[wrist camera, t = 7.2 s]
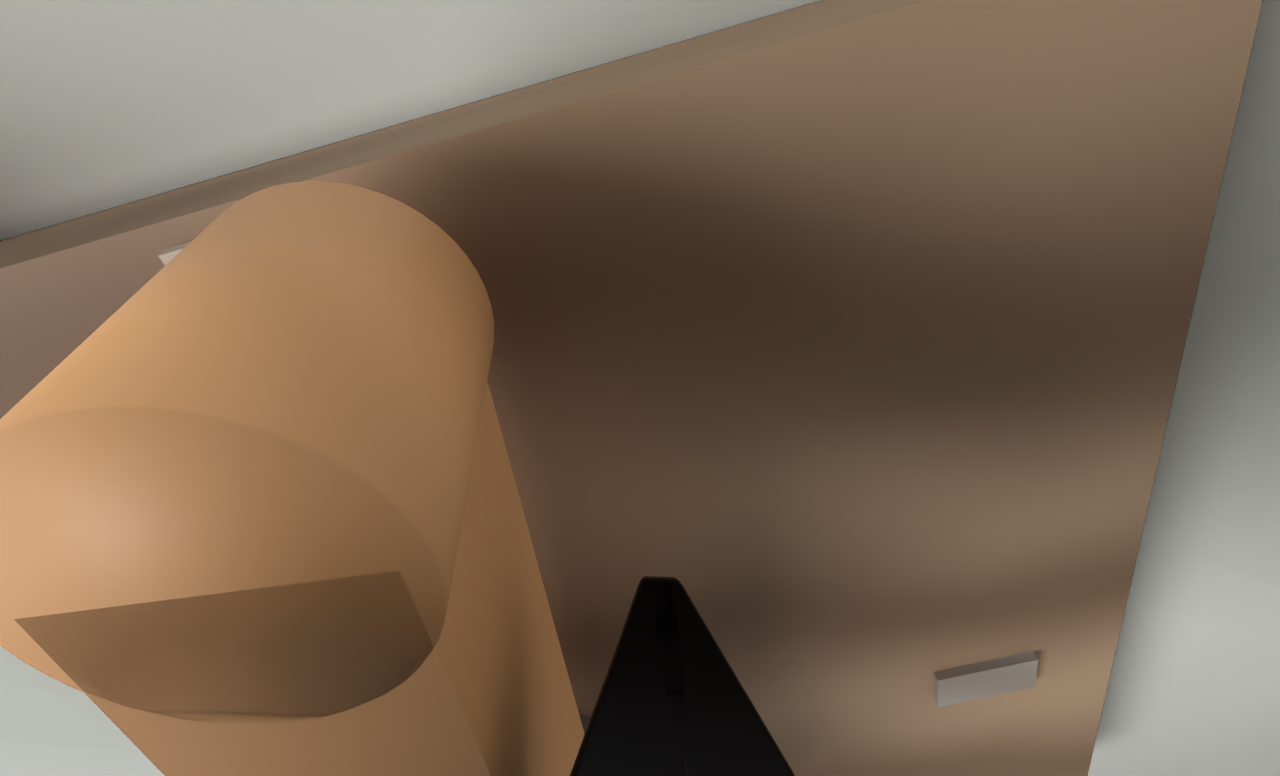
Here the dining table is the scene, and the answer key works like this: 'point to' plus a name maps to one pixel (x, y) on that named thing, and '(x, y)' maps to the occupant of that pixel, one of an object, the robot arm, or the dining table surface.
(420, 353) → the latch lever
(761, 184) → the mount plate
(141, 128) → the dining table surface
